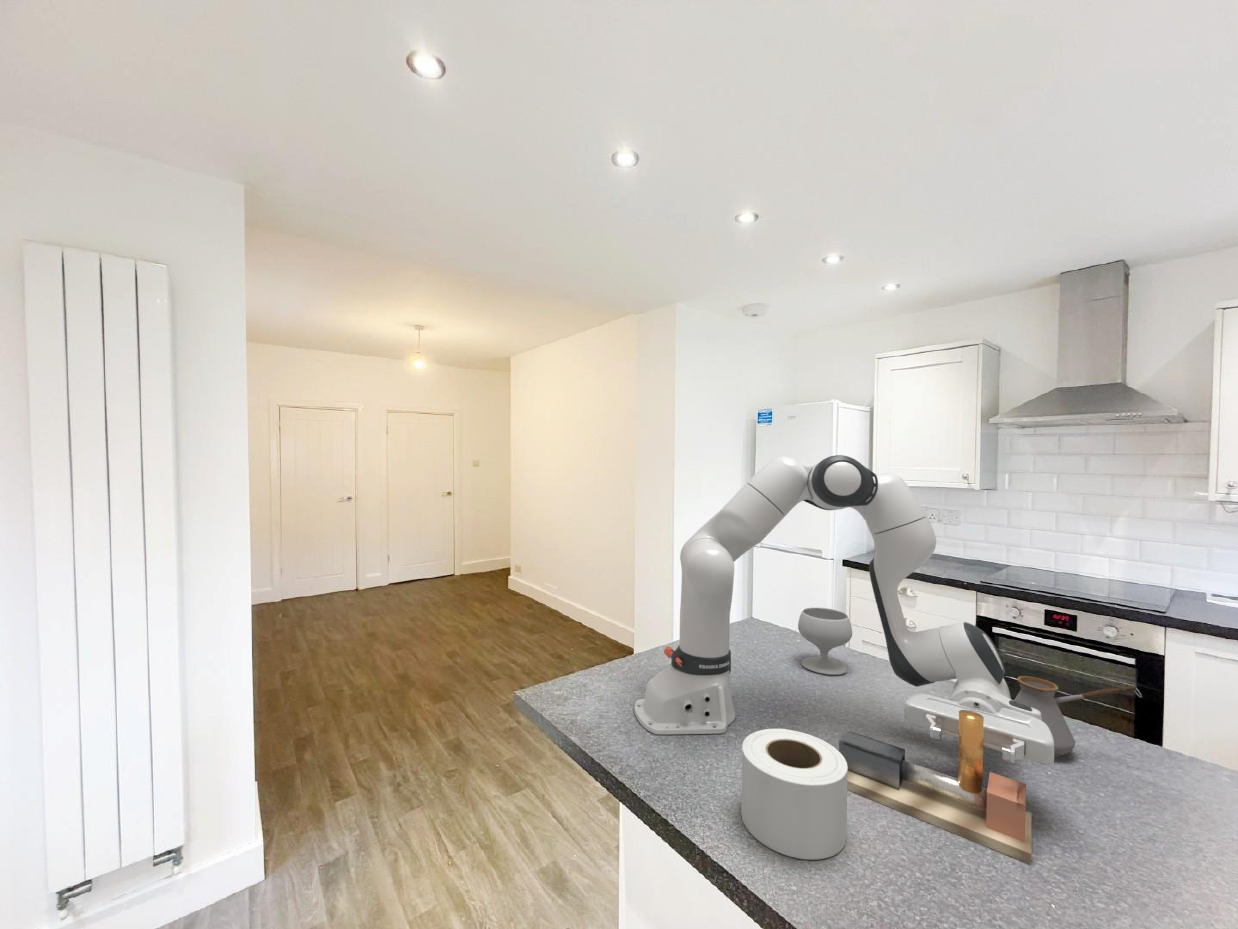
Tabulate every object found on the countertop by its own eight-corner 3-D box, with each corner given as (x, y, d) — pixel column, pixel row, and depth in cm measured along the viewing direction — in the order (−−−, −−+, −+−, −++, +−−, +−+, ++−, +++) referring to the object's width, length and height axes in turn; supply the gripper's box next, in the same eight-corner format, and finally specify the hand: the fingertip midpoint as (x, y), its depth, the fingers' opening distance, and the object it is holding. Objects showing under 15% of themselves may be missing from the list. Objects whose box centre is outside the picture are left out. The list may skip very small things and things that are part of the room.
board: (830, 782, 87) (830, 774, 87) (848, 755, 95) (848, 747, 95) (1031, 864, 69) (1031, 854, 69) (1031, 822, 78) (1031, 813, 78)
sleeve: (838, 767, 89) (839, 740, 89) (846, 755, 93) (846, 730, 93) (898, 790, 83) (899, 761, 83) (904, 777, 86) (905, 749, 86)
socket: (986, 827, 74) (986, 792, 74) (989, 805, 79) (989, 772, 80) (1024, 842, 72) (1025, 805, 72) (1025, 818, 77) (1026, 783, 77)
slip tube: (893, 780, 84) (894, 697, 84) (897, 771, 86) (898, 691, 86) (1009, 824, 74) (1011, 730, 74) (1010, 812, 76) (1011, 722, 77)
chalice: (788, 658, 144) (789, 606, 144) (834, 657, 146) (834, 606, 146) (812, 678, 130) (813, 621, 130) (862, 677, 132) (863, 620, 132)
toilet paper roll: (755, 779, 88) (756, 718, 88) (851, 811, 80) (852, 744, 80) (728, 834, 74) (729, 762, 74) (840, 879, 66) (841, 798, 66)
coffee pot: (1010, 754, 97) (1011, 677, 97) (993, 726, 107) (994, 657, 107) (1158, 784, 88) (1159, 699, 88) (1123, 750, 99) (1124, 675, 99)
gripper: (911, 678, 95) (896, 703, 85) (1052, 713, 82) (1055, 749, 71) (911, 711, 95) (895, 740, 84) (1052, 752, 82) (1055, 793, 71)
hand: (970, 745), depth 78 cm, fingers open, 8 cm apart
